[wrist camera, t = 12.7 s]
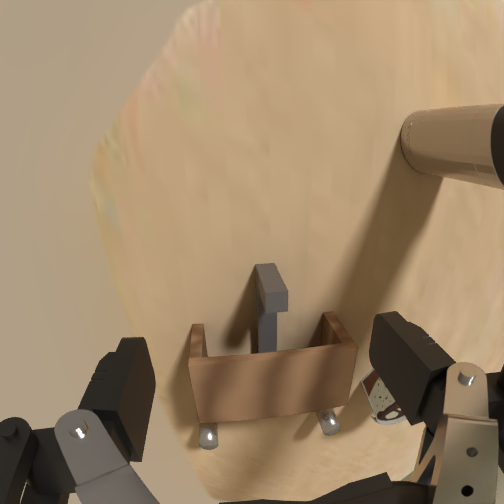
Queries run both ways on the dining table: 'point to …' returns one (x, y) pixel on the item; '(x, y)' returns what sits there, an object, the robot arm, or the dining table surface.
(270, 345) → the scraper
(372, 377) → the food container
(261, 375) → the low shelf
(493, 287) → the dining table surface
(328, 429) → the goal posts
